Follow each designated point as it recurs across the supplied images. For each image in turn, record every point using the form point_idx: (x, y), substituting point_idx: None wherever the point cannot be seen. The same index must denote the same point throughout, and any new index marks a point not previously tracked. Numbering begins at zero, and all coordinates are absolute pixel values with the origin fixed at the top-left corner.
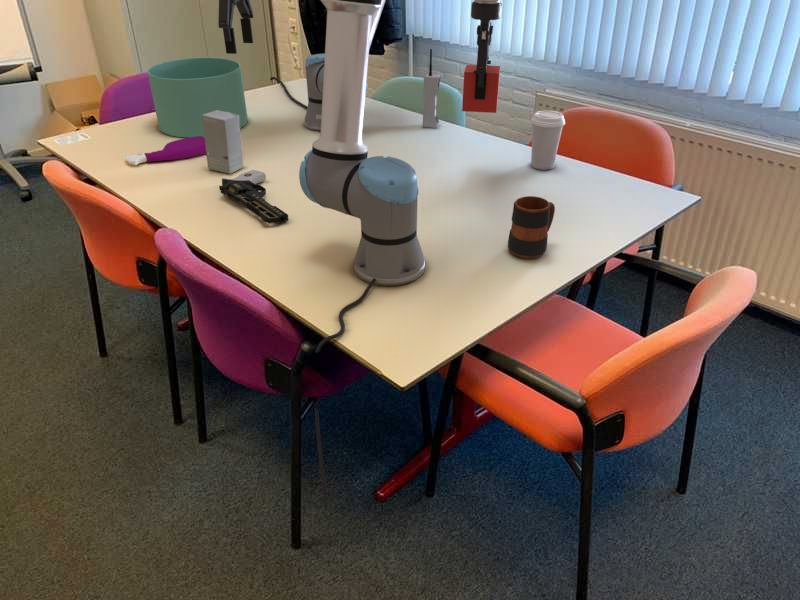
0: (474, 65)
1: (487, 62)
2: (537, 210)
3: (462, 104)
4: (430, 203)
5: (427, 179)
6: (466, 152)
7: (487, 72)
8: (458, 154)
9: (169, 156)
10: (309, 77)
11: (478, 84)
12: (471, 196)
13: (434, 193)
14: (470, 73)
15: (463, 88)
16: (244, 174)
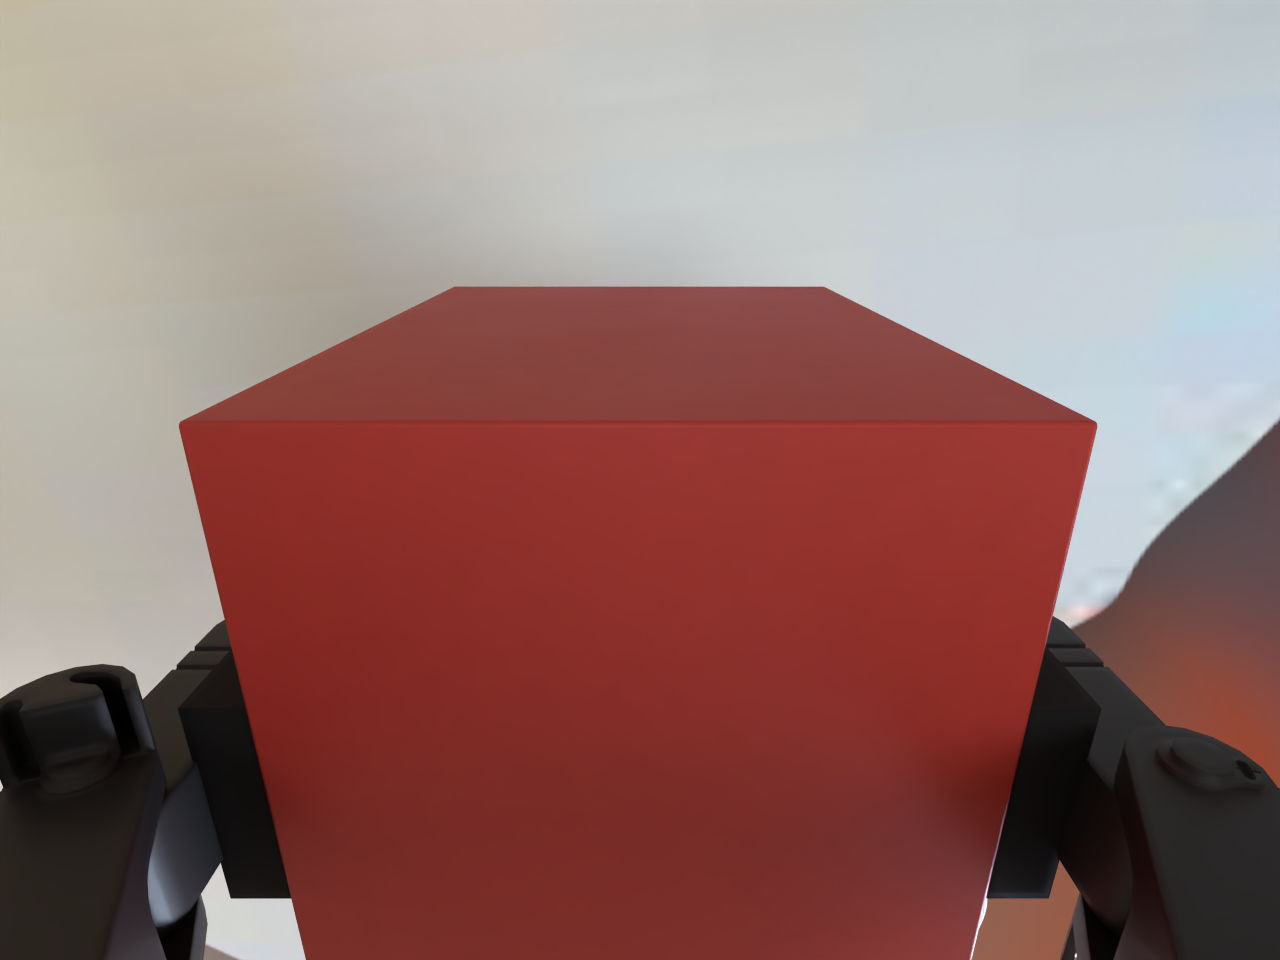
0: (986, 636)
1: (1078, 935)
2: None
3: (432, 298)
4: (137, 95)
5: (499, 22)
6: (1013, 254)
7: (328, 913)
8: (975, 201)
9: None
10: None
11: (209, 644)
12: (316, 334)
13: (289, 103)
14: (232, 572)
15: (351, 340)
16: None
